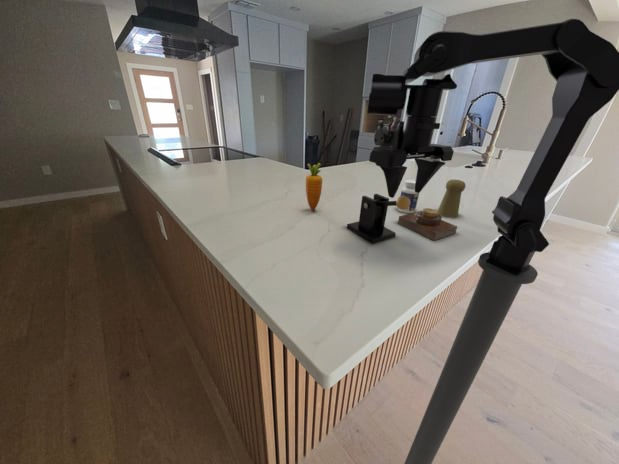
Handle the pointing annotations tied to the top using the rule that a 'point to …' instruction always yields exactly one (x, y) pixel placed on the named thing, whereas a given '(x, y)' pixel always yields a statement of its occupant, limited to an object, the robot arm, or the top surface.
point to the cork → (451, 199)
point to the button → (429, 213)
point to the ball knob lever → (395, 203)
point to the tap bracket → (372, 220)
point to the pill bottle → (410, 195)
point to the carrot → (313, 186)
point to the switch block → (427, 225)
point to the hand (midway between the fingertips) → (404, 194)
